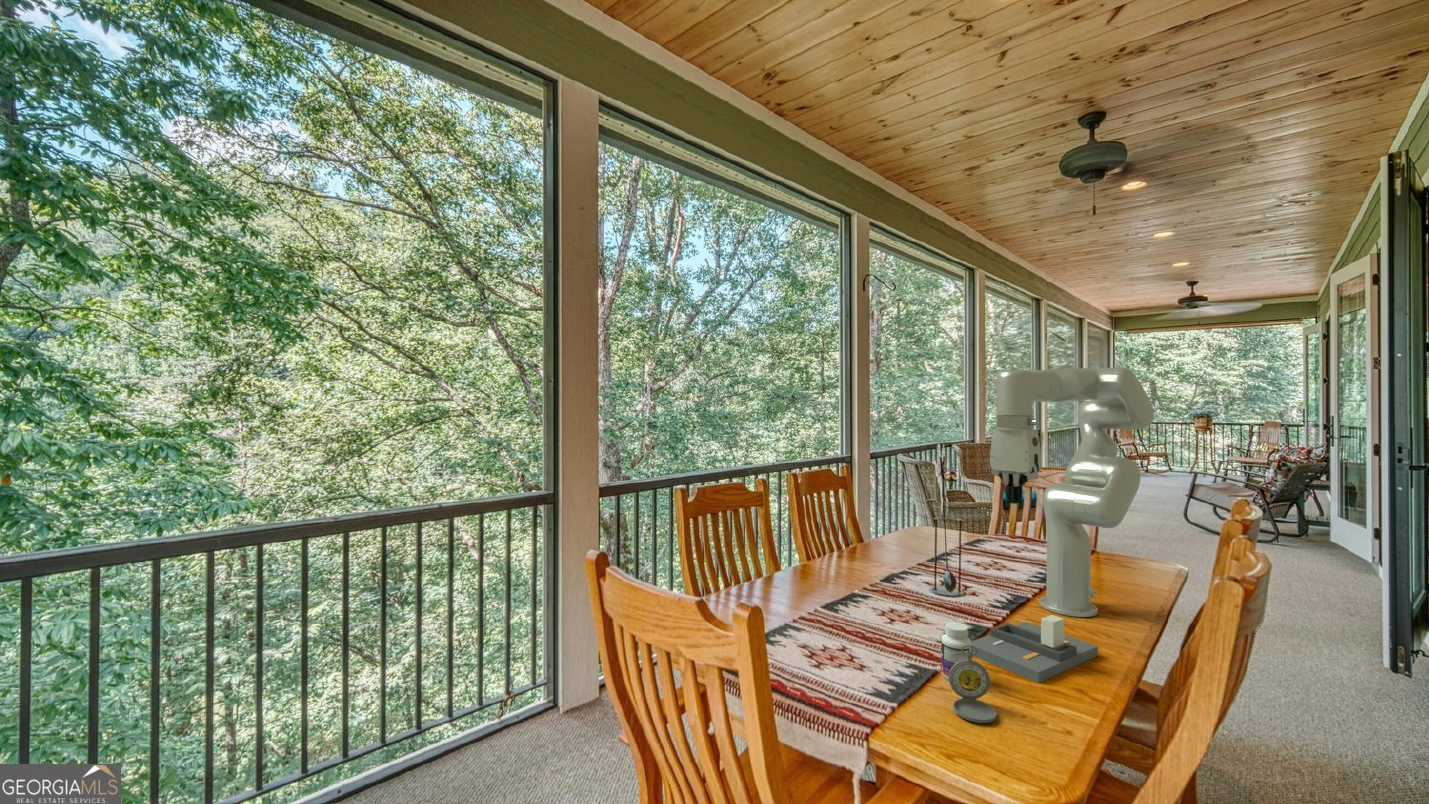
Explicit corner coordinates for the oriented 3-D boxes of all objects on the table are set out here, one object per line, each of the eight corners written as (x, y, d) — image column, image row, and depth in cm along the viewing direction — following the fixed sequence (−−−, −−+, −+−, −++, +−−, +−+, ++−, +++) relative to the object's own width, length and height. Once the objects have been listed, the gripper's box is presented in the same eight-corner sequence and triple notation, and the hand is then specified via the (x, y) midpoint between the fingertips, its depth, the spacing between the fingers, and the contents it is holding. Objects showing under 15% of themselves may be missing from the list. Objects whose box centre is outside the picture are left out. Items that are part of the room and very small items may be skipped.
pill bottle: (948, 667, 113) (948, 618, 113) (976, 676, 109) (976, 626, 109) (936, 676, 109) (936, 625, 109) (964, 686, 105) (965, 634, 105)
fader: (1050, 646, 118) (1050, 614, 118) (1065, 651, 115) (1065, 619, 115) (1039, 650, 116) (1039, 618, 116) (1054, 656, 113) (1054, 623, 113)
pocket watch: (976, 729, 92) (976, 667, 92) (936, 703, 100) (936, 646, 100) (1012, 718, 95) (1012, 658, 95) (971, 694, 103) (971, 638, 103)
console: (1026, 630, 131) (1026, 615, 131) (1097, 655, 118) (1097, 639, 118) (966, 652, 120) (966, 635, 120) (1038, 683, 107) (1038, 664, 107)
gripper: (1056, 424, 128) (1055, 506, 128) (993, 422, 141) (993, 496, 141) (1037, 425, 124) (1037, 509, 124) (975, 422, 137) (974, 499, 137)
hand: (1013, 502), depth 133 cm, fingers closed
